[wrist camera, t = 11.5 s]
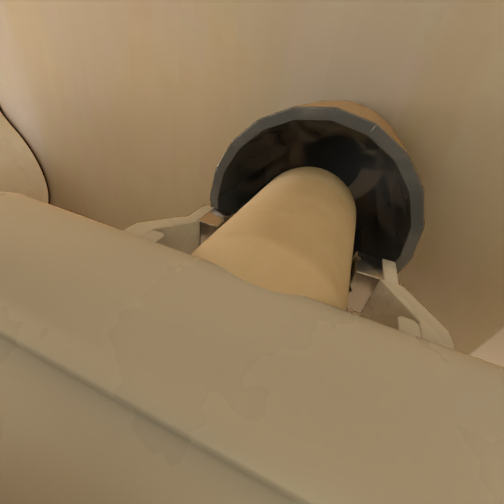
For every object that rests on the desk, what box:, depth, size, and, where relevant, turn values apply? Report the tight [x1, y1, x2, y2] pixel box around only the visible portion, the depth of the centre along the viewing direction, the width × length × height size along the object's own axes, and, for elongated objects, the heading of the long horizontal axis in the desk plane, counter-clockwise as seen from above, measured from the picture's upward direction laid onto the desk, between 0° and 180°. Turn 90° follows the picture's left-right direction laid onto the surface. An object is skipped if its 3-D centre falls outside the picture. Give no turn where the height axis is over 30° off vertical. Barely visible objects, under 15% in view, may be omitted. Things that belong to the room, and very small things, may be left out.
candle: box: [191, 166, 356, 311], centre depth 11 cm, size 6×6×10 cm
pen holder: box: [210, 101, 424, 274], centre depth 17 cm, size 11×11×9 cm
